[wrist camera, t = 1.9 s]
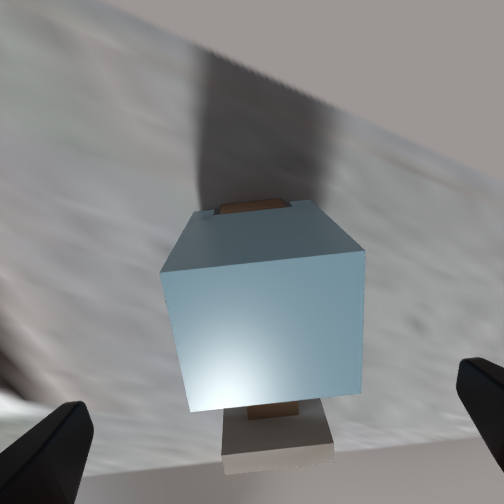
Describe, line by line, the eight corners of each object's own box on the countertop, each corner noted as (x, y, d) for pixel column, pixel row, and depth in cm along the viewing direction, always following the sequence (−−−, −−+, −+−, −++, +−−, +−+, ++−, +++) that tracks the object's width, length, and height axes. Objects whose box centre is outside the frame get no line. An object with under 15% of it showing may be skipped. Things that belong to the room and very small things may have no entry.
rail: (317, 404, 21) (334, 462, 17) (227, 414, 21) (224, 474, 17) (309, 195, 16) (331, 213, 12) (192, 207, 16) (178, 230, 12)
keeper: (313, 291, 17) (361, 393, 10) (209, 303, 17) (190, 412, 10) (309, 199, 15) (365, 250, 9) (194, 211, 15) (159, 273, 9)
